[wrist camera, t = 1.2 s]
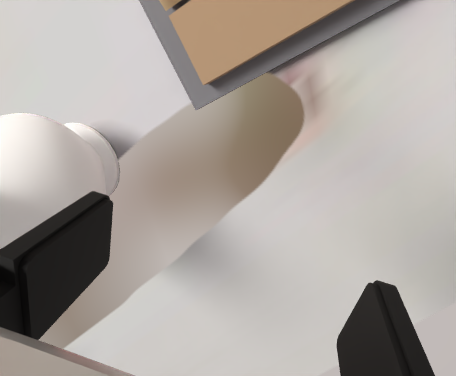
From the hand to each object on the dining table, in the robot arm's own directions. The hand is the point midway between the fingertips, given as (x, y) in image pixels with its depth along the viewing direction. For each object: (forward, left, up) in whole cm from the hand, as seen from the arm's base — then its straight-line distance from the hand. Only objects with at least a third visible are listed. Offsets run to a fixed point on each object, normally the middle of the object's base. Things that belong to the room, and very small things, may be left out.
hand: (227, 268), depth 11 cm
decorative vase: (+30, -7, -30) cm, 43 cm away
